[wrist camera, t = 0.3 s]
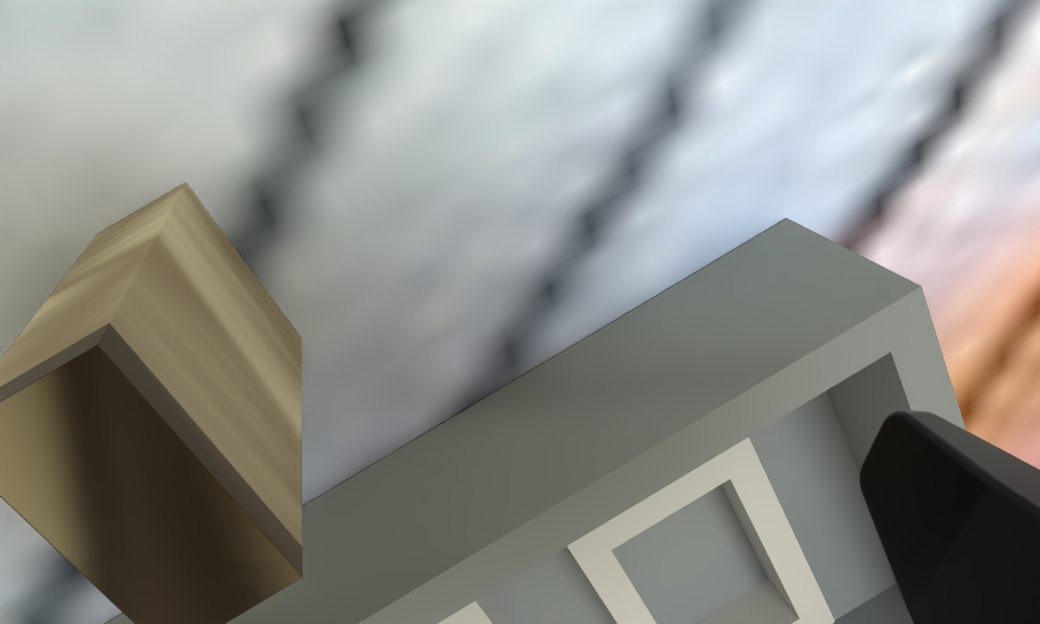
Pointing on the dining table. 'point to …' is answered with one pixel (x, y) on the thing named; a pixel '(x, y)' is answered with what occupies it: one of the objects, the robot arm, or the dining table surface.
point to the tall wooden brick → (160, 421)
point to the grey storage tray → (651, 466)
